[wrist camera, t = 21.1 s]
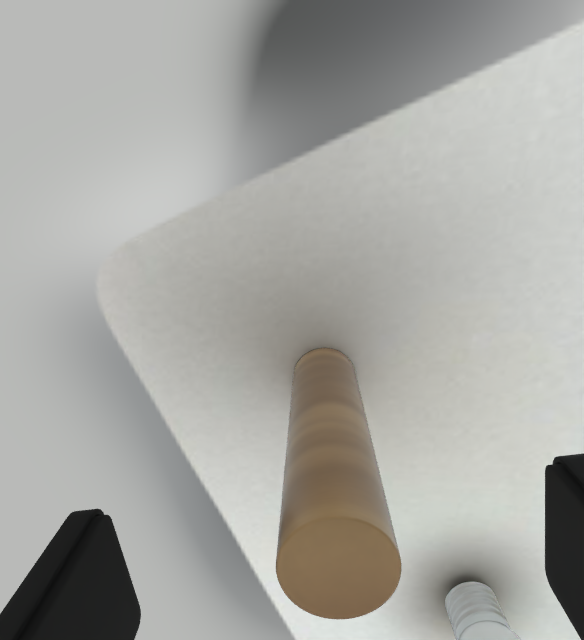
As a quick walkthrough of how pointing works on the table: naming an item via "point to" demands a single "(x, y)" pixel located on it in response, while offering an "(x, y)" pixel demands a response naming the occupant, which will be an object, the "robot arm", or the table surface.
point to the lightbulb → (477, 613)
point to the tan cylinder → (333, 498)
